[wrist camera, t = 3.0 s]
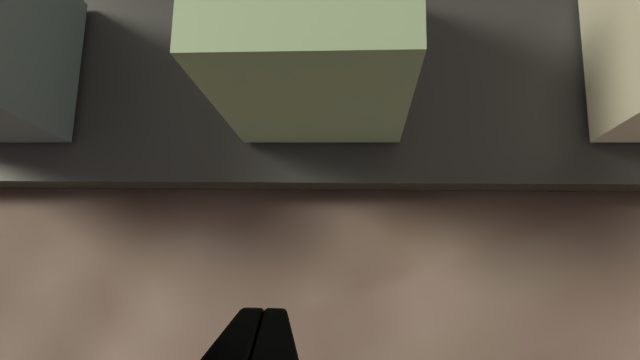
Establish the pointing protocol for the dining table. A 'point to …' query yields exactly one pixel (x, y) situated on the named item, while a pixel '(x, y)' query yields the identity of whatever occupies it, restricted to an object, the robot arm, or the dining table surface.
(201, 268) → the dining table surface
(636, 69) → the cream key
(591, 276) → the dining table surface
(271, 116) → the light green rectangular block
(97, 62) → the keypad base
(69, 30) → the slate key
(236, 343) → the robot arm
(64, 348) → the dining table surface
